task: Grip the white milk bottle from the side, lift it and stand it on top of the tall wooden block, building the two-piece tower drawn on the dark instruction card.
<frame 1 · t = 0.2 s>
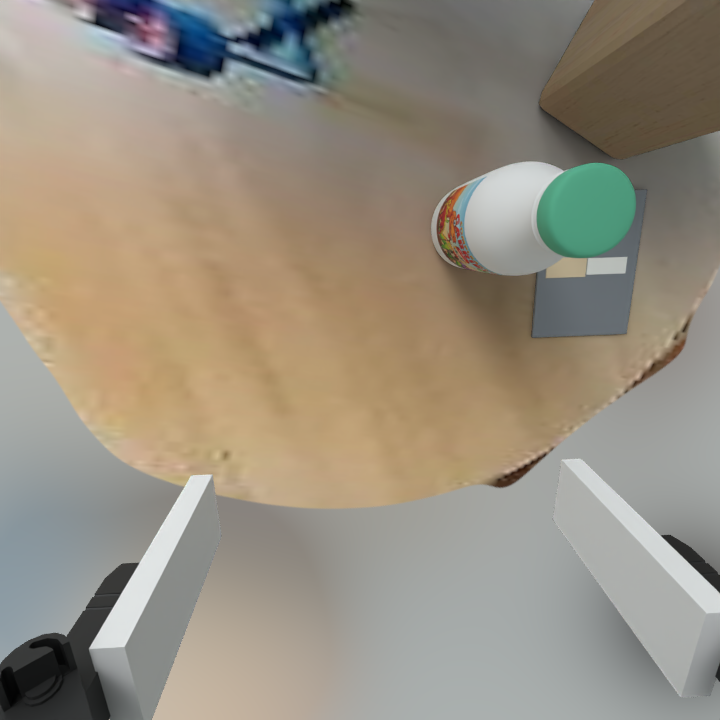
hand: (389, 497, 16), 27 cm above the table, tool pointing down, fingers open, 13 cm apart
wooden block: (604, 84, 38), on the table
instruction card: (585, 266, 42), on the table
milk bottle: (468, 227, 40), on the table
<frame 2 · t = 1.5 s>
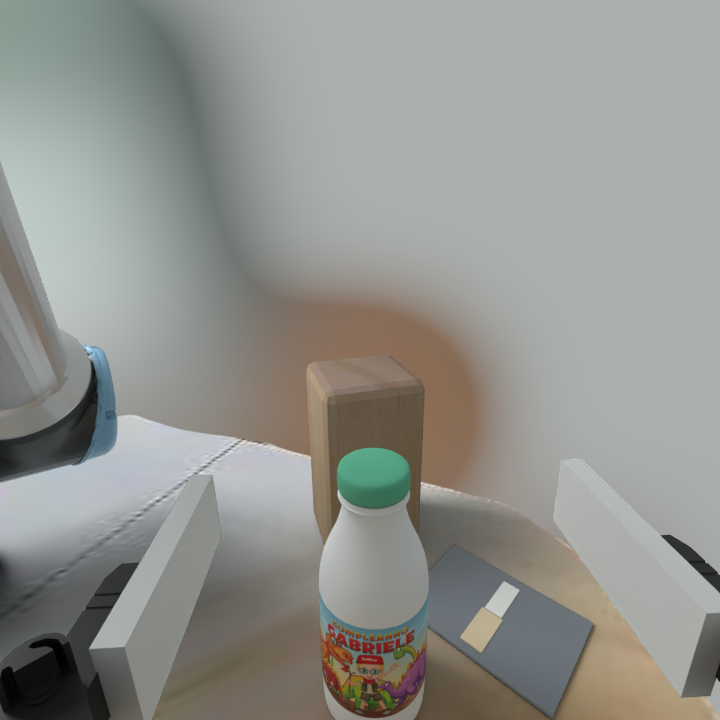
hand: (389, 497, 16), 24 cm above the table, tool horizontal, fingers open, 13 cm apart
wooden block: (363, 533, 49), on the table
instruction card: (492, 615, 38), on the table
milk bottle: (373, 688, 33), on the table
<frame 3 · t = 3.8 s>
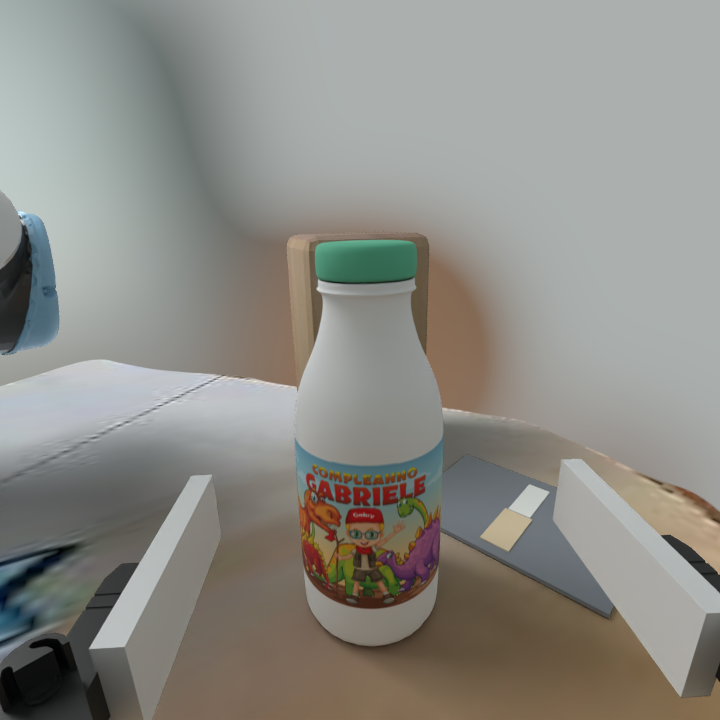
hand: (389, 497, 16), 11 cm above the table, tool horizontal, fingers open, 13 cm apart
wooden block: (358, 448, 41), on the table
instruction card: (519, 516, 31), on the table
milk bottle: (371, 592, 25), on the table
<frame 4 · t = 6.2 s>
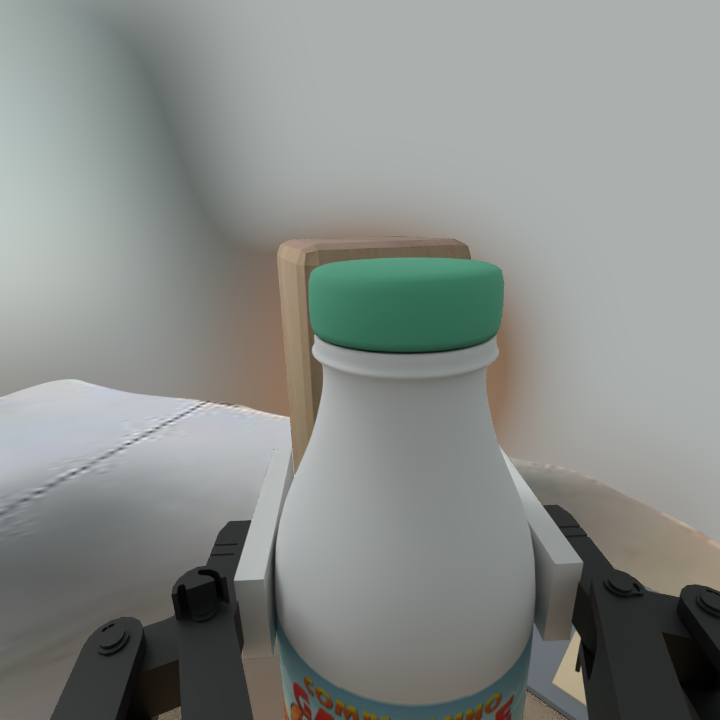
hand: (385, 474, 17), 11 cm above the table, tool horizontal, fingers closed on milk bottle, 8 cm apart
wooden block: (369, 511, 32), on the table
instruction card: (599, 638, 22), on the table
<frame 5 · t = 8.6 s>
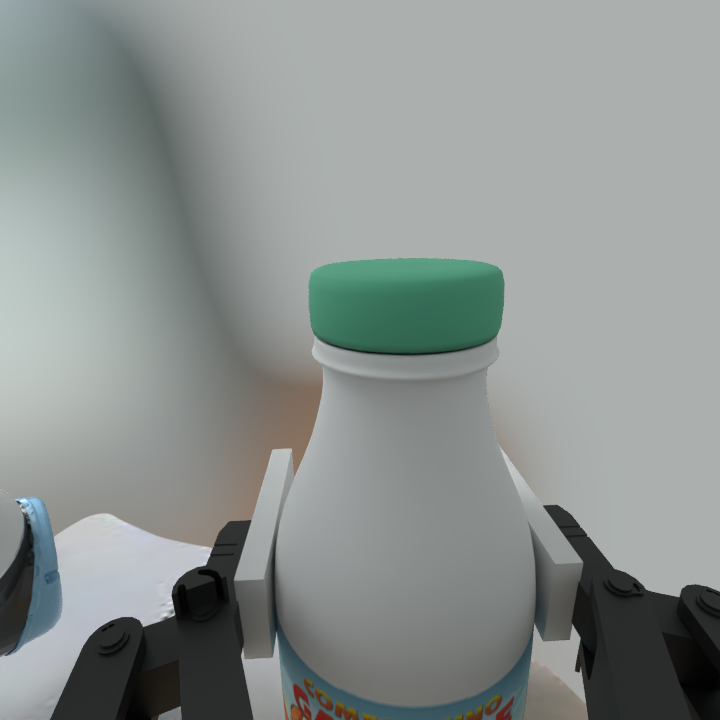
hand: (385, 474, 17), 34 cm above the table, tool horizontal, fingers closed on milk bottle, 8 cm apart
when the fingers open (33 cm above the table, at t = 11.4 s): milk bottle drops 2 cm, resting on wooden block.
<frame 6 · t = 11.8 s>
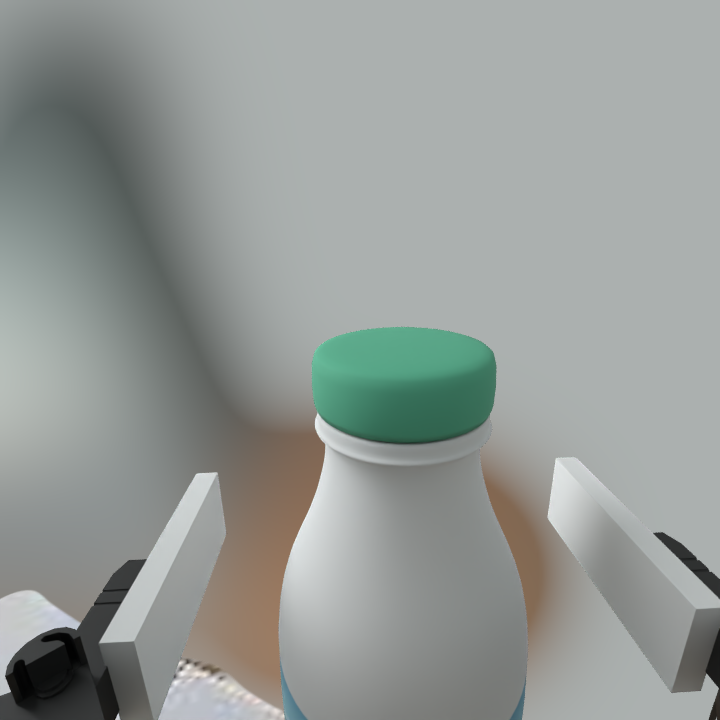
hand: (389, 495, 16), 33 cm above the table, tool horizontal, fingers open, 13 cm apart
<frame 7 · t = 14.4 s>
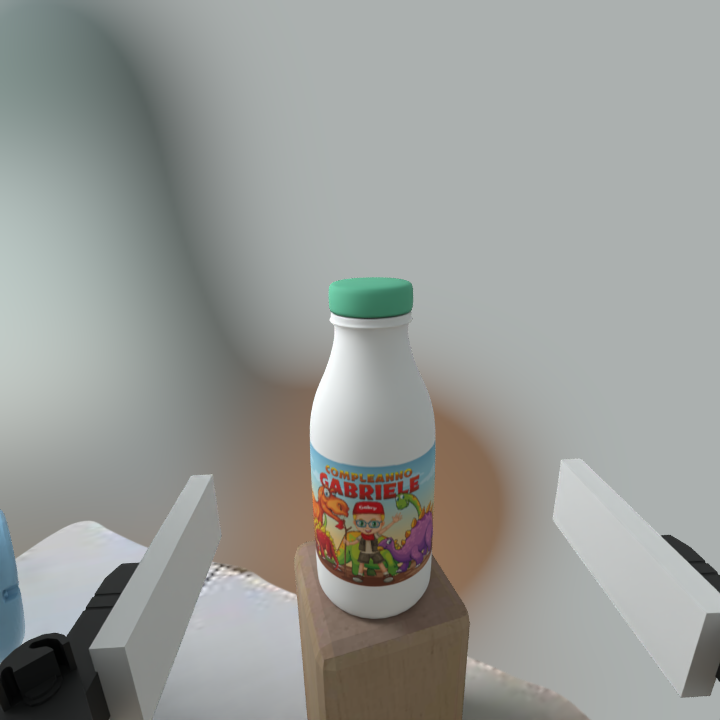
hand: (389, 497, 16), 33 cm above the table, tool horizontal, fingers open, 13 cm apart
milk bottle: (373, 575, 29), point 20 cm above the table, touching wooden block
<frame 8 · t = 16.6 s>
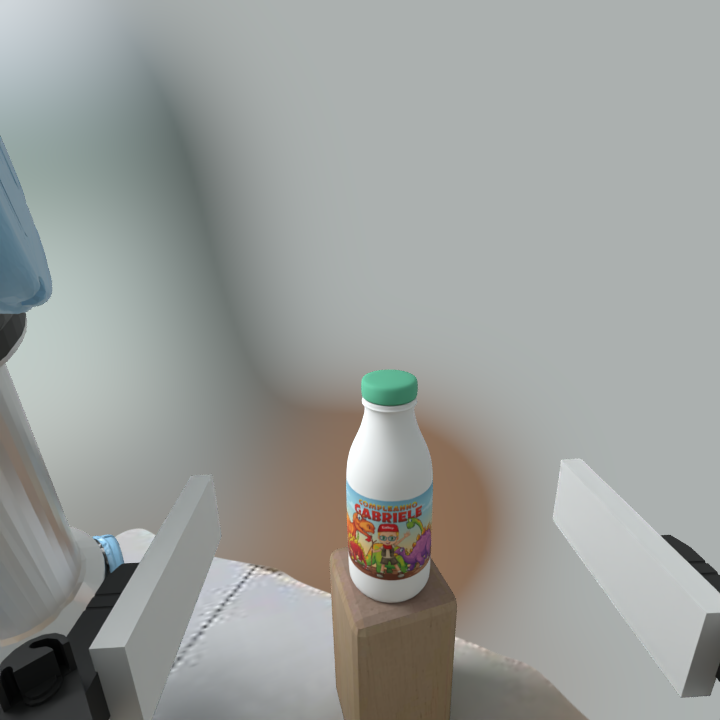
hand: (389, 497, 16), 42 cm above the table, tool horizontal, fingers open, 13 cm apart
wooden block: (389, 715, 47), on the table, touching milk bottle
milk bottle: (389, 573, 40), point 20 cm above the table, touching wooden block
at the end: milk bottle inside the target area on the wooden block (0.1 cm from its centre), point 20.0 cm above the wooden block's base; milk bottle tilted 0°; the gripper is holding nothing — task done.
